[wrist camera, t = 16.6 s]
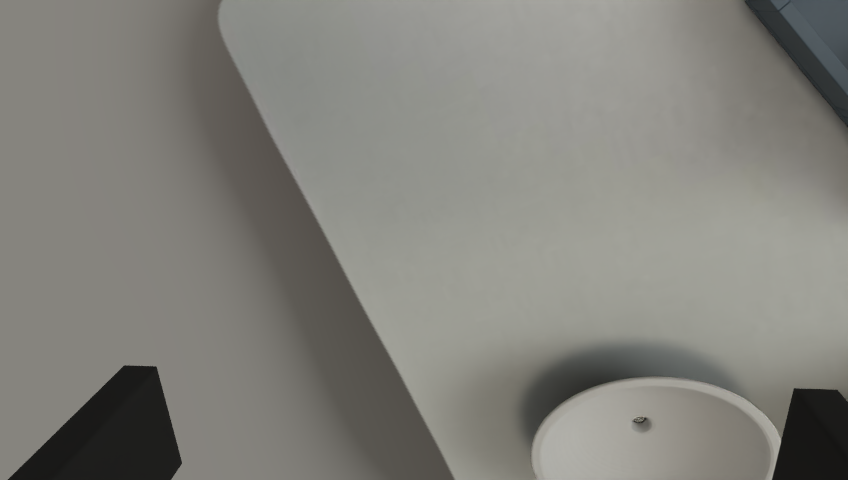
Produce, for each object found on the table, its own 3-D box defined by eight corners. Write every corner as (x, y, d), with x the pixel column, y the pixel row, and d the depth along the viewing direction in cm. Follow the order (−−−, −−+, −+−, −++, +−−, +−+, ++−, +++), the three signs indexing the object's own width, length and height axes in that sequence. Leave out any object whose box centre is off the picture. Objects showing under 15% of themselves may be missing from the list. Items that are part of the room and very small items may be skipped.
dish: (528, 480, 51) (531, 528, 46) (527, 339, 45) (530, 376, 41) (743, 490, 48) (768, 541, 43) (768, 340, 43) (800, 380, 38)
